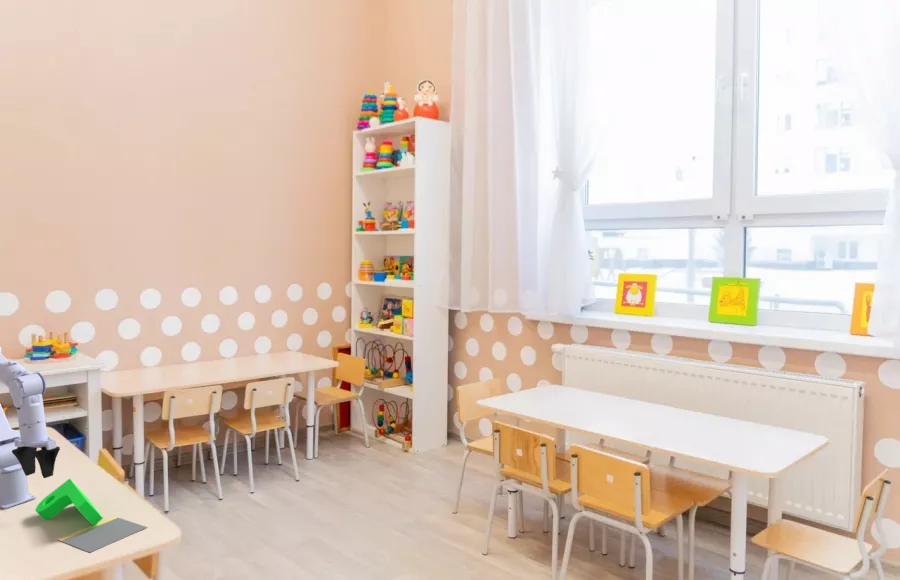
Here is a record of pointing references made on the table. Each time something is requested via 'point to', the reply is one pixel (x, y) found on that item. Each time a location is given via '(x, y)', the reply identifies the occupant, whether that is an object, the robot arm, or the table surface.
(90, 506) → the bracket
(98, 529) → the mat
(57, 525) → the table surface
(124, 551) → the table surface
